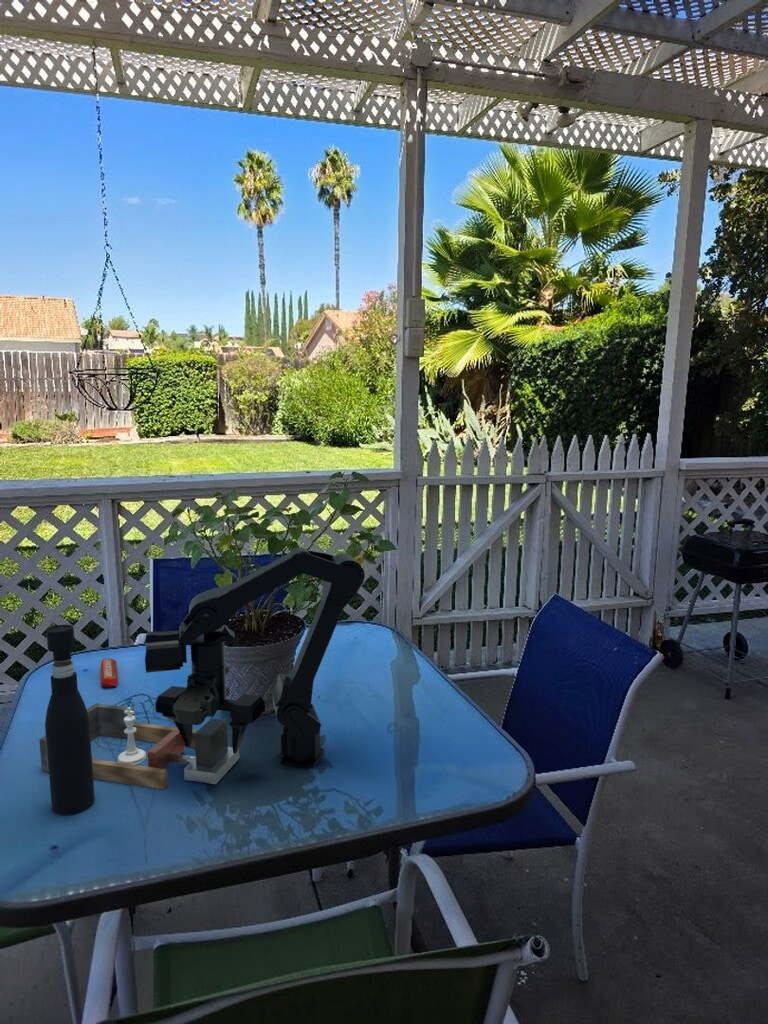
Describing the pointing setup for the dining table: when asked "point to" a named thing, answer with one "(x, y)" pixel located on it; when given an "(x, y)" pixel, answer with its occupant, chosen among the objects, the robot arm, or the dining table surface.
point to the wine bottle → (67, 731)
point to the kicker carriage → (197, 753)
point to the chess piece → (131, 743)
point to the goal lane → (112, 724)
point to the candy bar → (109, 672)
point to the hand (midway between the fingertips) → (212, 749)
